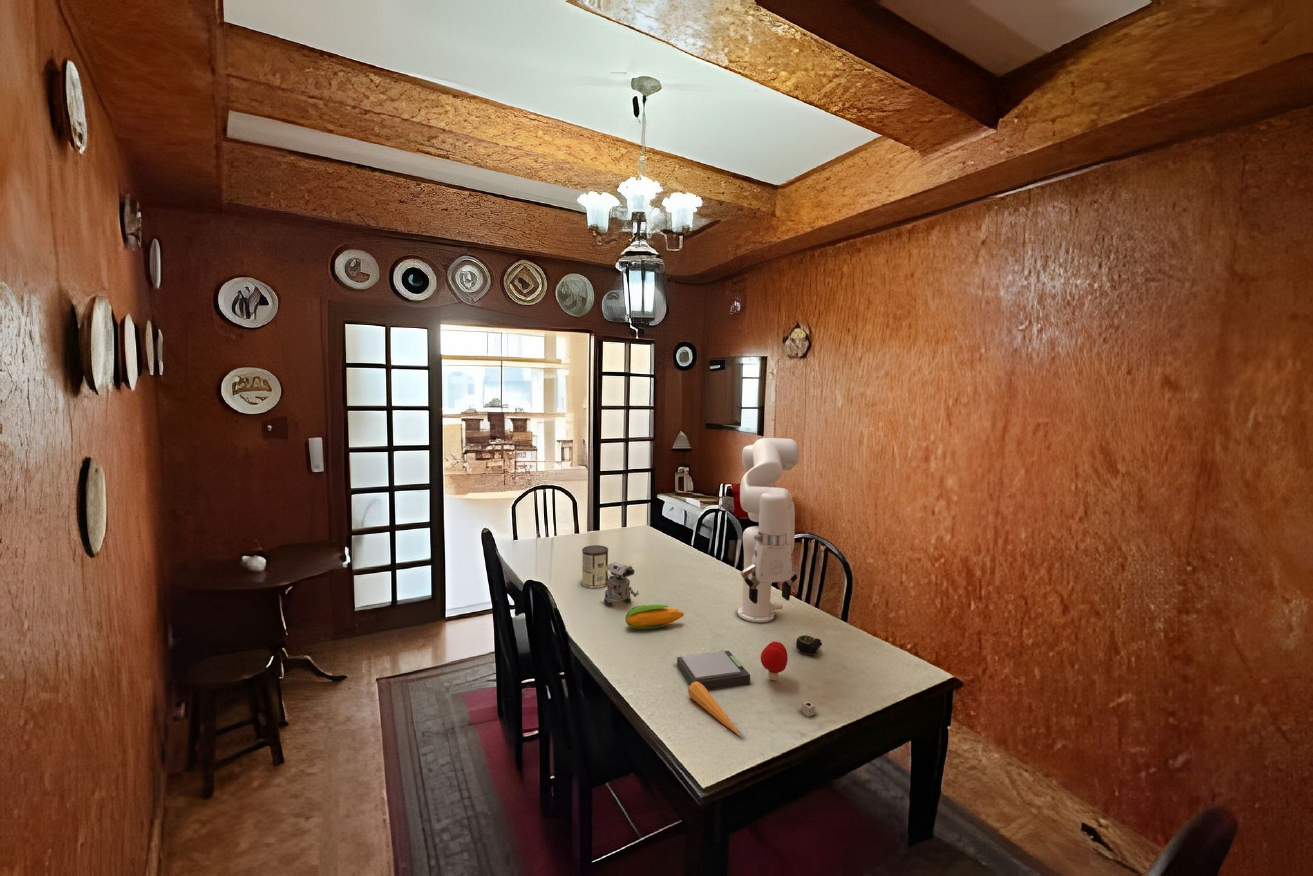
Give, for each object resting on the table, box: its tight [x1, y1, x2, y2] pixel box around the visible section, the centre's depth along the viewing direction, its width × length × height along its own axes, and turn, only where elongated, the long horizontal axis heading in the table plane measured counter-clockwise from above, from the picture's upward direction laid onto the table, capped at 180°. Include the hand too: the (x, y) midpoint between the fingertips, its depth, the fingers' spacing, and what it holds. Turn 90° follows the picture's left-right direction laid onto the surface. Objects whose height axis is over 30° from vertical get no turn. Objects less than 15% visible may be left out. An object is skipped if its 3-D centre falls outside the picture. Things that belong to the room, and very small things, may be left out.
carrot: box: [687, 681, 742, 738], centre depth 135 cm, size 20×4×4 cm, turn 30°
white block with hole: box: [801, 701, 816, 718], centre depth 137 cm, size 2×2×2 cm
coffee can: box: [581, 544, 609, 589], centre depth 221 cm, size 10×10×14 cm
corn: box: [625, 604, 685, 630], centre depth 183 cm, size 7×8×20 cm
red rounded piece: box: [760, 641, 789, 682], centre depth 152 cm, size 9×7×10 cm
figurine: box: [603, 561, 640, 607], centre depth 200 cm, size 9×12×15 cm
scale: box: [676, 650, 751, 691], centre depth 154 cm, size 16×14×3 cm
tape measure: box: [795, 634, 823, 656], centre depth 169 cm, size 7×7×4 cm
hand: (769, 600), depth 151 cm, fingers open, 9 cm apart
